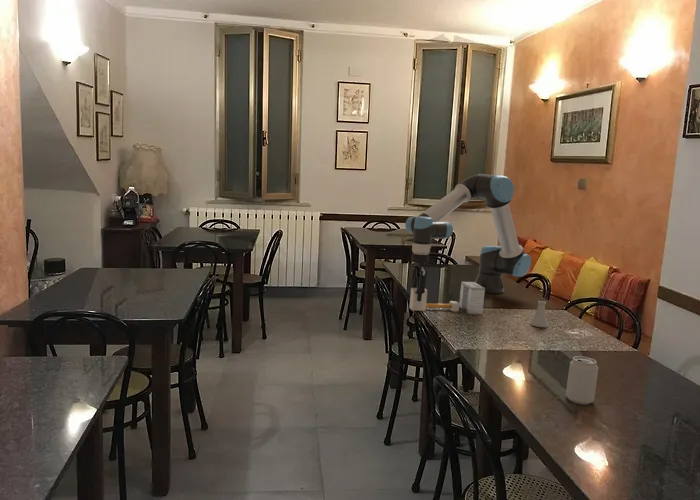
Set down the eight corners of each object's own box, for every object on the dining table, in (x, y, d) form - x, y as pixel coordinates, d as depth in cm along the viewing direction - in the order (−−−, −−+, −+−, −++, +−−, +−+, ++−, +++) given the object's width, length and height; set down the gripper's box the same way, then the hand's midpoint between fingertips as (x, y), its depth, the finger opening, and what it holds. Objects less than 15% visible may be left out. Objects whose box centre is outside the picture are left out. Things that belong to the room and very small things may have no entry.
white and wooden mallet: (455, 308, 264) (457, 288, 263) (458, 311, 260) (460, 291, 259) (409, 308, 260) (411, 287, 259) (412, 310, 256) (413, 289, 255)
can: (560, 394, 172) (566, 354, 170) (585, 395, 172) (591, 355, 170) (572, 405, 164) (578, 363, 162) (598, 406, 165) (604, 364, 163)
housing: (471, 307, 270) (474, 282, 268) (482, 314, 258) (485, 288, 257) (458, 306, 269) (461, 281, 267) (469, 313, 257) (471, 287, 255)
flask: (549, 329, 242) (552, 304, 241) (530, 326, 244) (533, 302, 242) (547, 324, 249) (550, 301, 248) (529, 322, 251) (532, 298, 249)
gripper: (435, 257, 247) (430, 312, 251) (423, 250, 264) (418, 302, 268) (418, 256, 246) (413, 311, 249) (406, 249, 263) (402, 301, 266)
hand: (416, 306), depth 258 cm, fingers open, 4 cm apart
